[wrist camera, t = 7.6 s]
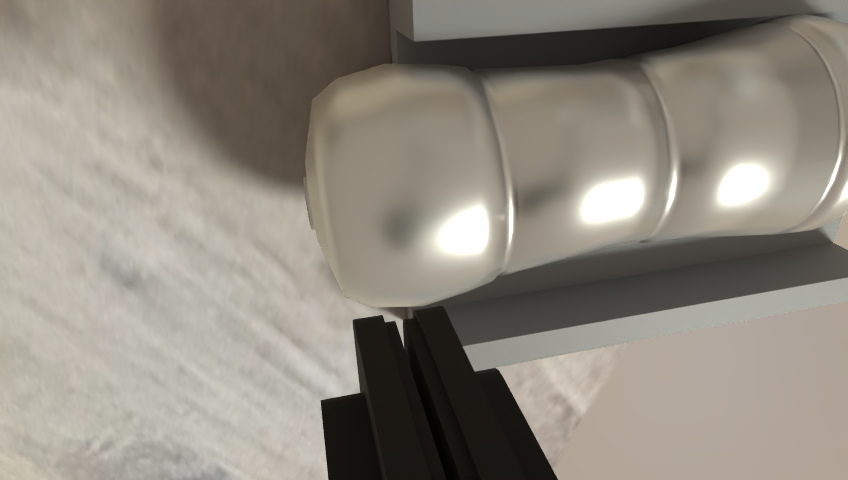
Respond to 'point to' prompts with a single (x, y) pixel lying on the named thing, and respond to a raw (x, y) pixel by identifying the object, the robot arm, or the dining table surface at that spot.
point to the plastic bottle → (574, 157)
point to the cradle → (632, 264)
